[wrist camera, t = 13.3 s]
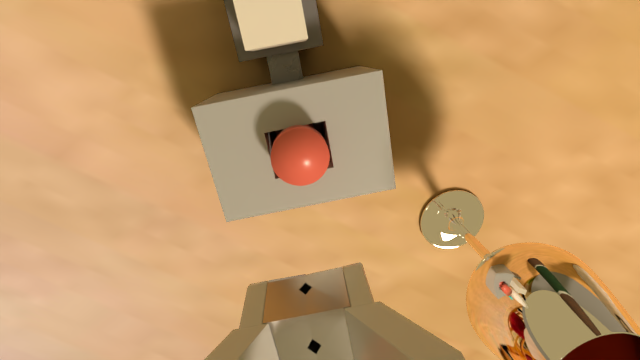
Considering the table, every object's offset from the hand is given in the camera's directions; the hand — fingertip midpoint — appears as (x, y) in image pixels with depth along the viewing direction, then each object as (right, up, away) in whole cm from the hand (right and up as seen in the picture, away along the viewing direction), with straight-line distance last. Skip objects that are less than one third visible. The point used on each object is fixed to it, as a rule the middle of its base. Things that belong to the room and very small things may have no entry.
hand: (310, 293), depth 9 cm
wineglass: (+13, -1, +26) cm, 29 cm away
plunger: (-2, +7, +20) cm, 22 cm away
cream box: (-3, +16, +18) cm, 24 cm away
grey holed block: (-2, +8, +21) cm, 23 cm away
